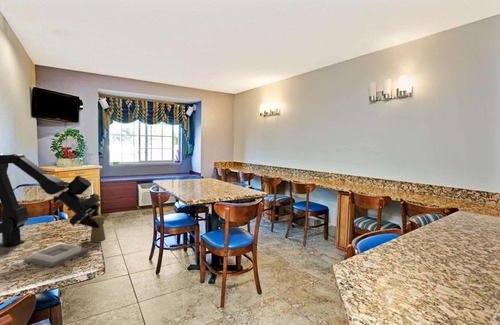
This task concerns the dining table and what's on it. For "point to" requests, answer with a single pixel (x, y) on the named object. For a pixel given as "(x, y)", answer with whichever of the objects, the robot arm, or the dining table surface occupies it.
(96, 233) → the olive tapered shaker
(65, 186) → the robot arm
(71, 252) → the grey square tray
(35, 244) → the dining table surface
